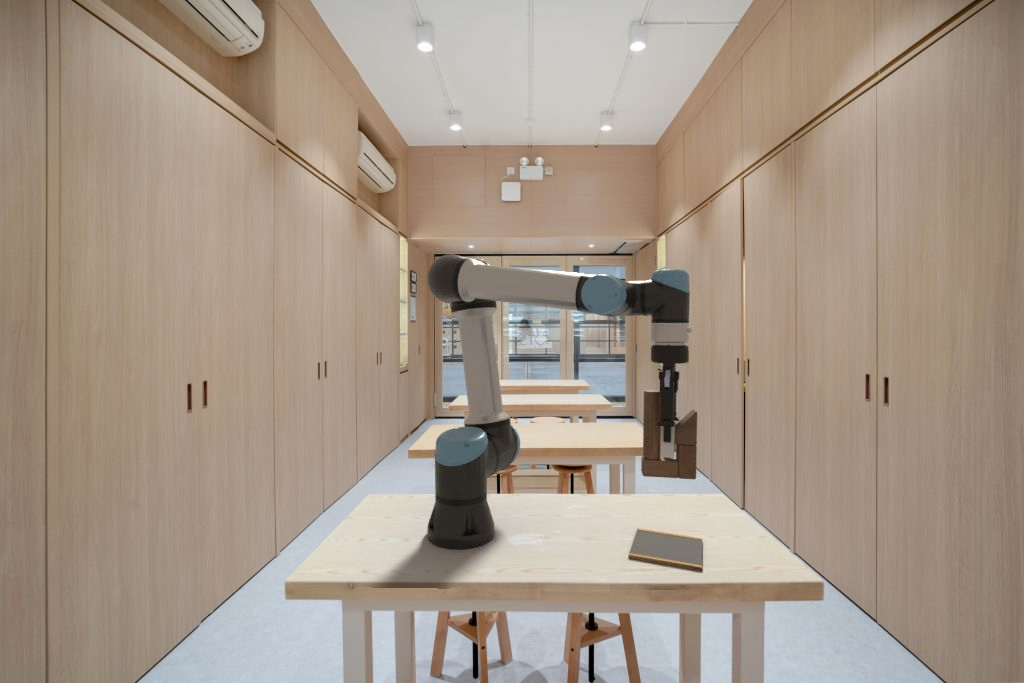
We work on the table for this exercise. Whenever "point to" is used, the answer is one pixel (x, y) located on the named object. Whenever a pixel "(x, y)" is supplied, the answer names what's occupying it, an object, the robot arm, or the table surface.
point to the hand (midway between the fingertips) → (668, 453)
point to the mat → (667, 549)
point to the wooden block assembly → (682, 438)
